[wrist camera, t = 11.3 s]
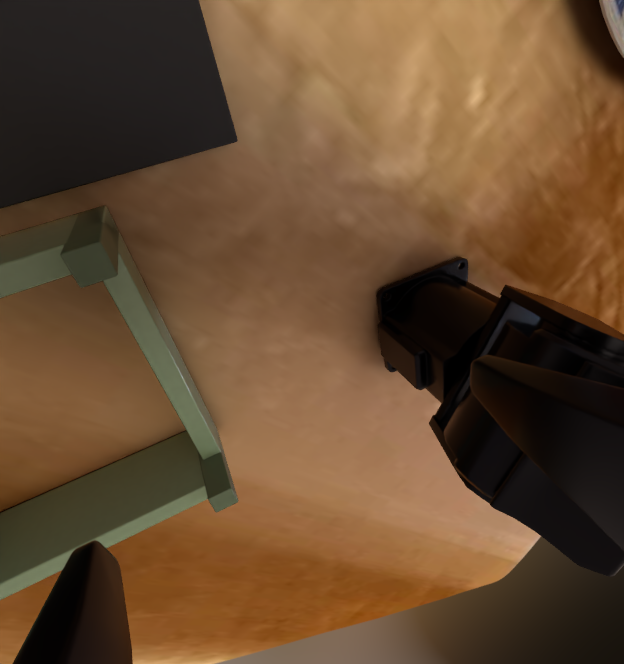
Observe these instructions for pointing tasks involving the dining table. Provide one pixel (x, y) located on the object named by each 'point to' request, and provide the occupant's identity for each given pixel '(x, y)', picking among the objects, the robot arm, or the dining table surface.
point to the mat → (103, 91)
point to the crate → (133, 471)
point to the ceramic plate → (614, 21)
